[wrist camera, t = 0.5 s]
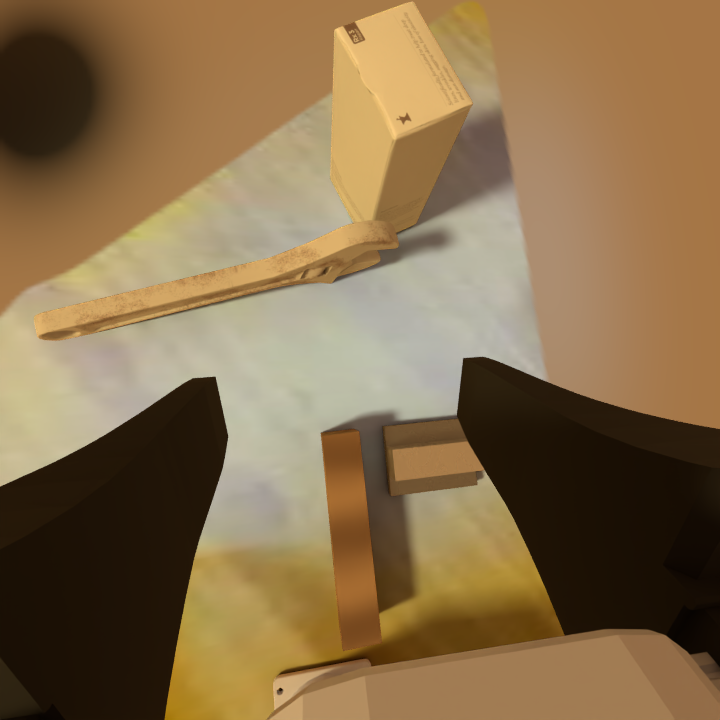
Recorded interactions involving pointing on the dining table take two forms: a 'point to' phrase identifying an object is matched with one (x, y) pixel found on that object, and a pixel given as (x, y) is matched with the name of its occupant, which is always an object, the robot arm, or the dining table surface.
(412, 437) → the ridge
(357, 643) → the walnut bar
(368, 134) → the skincare box
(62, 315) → the wrench
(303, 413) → the dining table surface
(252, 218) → the dining table surface
